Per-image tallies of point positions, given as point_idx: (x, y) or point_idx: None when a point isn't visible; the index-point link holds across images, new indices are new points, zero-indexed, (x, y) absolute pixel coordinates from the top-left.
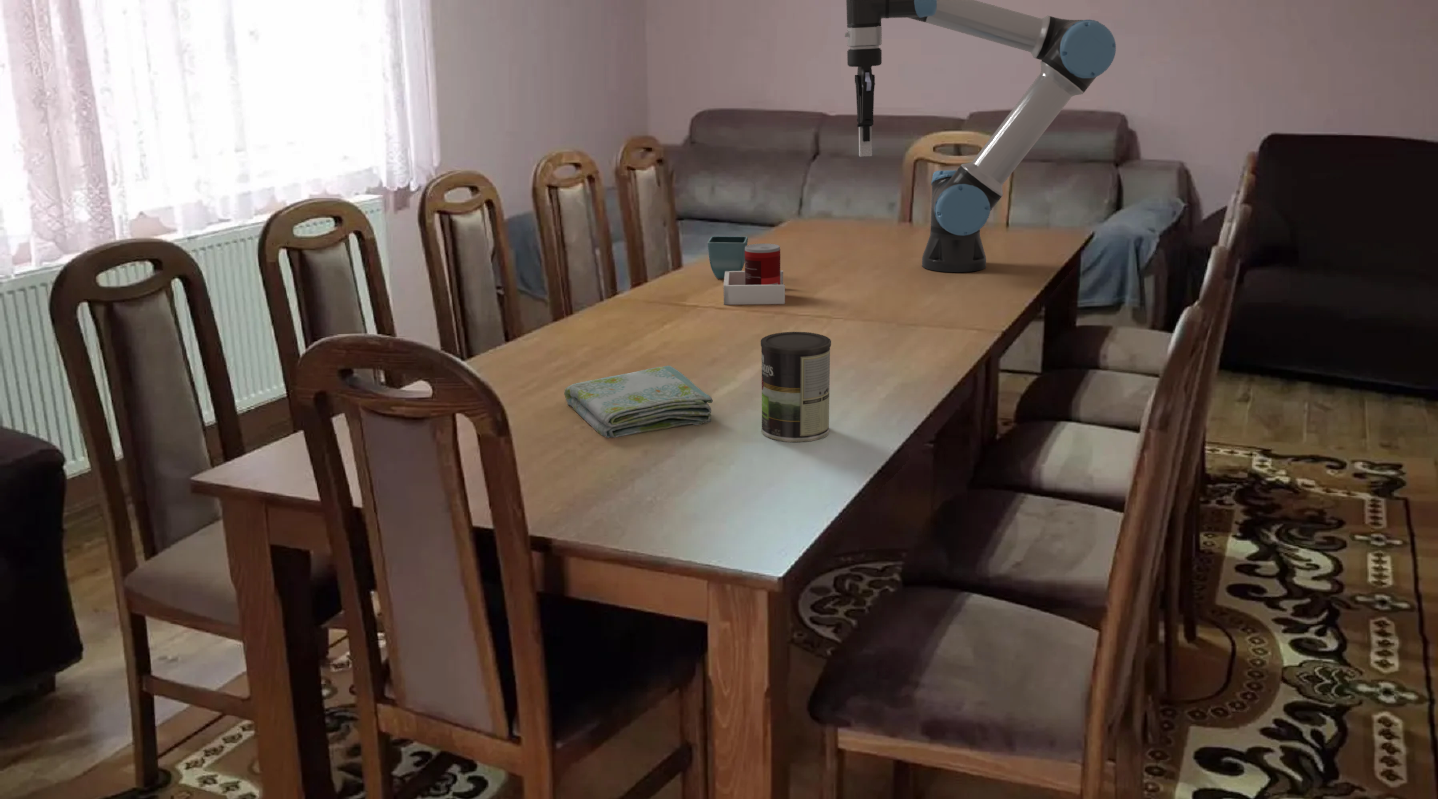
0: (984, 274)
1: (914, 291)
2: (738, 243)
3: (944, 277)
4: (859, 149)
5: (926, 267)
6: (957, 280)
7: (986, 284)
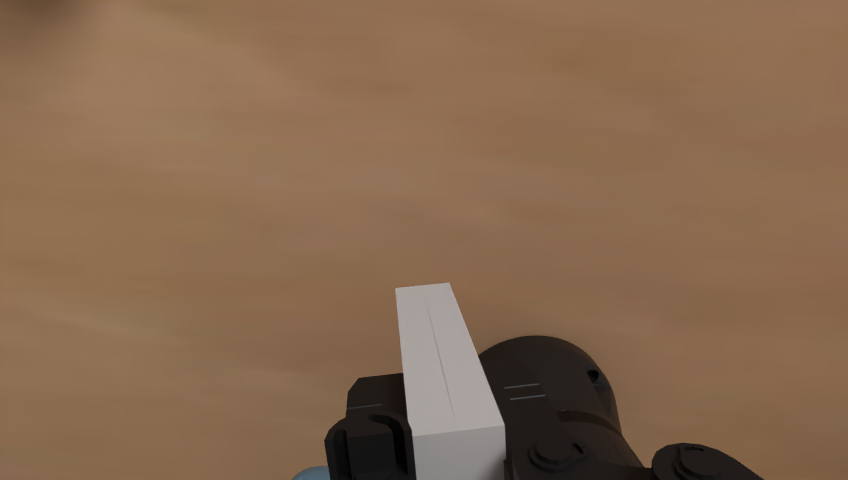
0: None
1: (212, 295)
2: None
3: None
4: (430, 306)
5: (498, 345)
6: None
7: (308, 461)
